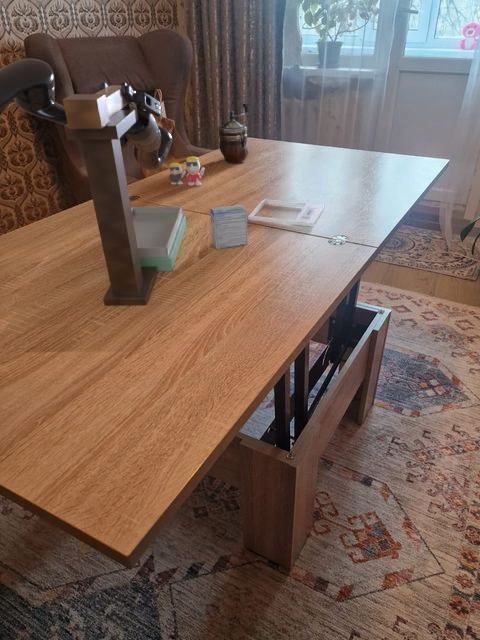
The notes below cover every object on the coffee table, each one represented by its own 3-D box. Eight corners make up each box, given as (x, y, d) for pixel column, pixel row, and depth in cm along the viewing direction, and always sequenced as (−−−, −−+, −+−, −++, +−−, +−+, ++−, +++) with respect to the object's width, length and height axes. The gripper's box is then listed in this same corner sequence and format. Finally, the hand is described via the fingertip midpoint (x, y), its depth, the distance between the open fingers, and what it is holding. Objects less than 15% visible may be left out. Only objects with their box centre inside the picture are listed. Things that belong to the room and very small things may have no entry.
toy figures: (167, 184, 155) (164, 157, 150) (171, 180, 159) (169, 154, 154) (203, 186, 154) (201, 159, 149) (206, 182, 157) (205, 155, 152)
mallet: (68, 129, 72) (62, 99, 70) (107, 103, 91) (103, 79, 89) (102, 128, 72) (96, 99, 70) (134, 103, 91) (130, 79, 89)
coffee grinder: (259, 156, 184) (259, 104, 174) (242, 165, 173) (241, 110, 163) (230, 153, 188) (228, 101, 178) (211, 162, 177) (208, 108, 167)
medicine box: (243, 238, 119) (242, 204, 114) (248, 245, 116) (247, 210, 111) (212, 242, 117) (209, 207, 112) (216, 249, 114) (214, 214, 109)
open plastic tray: (107, 272, 105) (102, 249, 101) (133, 225, 126) (130, 206, 123) (172, 271, 105) (169, 249, 102) (186, 225, 127) (184, 205, 124)
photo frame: (313, 222, 124) (247, 215, 129) (313, 226, 125) (248, 219, 129) (325, 204, 136) (264, 198, 140) (324, 208, 136) (264, 202, 141)
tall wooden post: (104, 305, 93) (63, 126, 74) (120, 272, 104) (89, 110, 85) (146, 305, 93) (115, 125, 74) (157, 272, 104) (134, 109, 86)
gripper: (170, 141, 104) (152, 109, 87) (105, 141, 104) (75, 110, 87) (169, 105, 103) (151, 65, 86) (104, 105, 103) (73, 66, 86)
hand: (113, 88), depth 87 cm, fingers closed on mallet, 3 cm apart
